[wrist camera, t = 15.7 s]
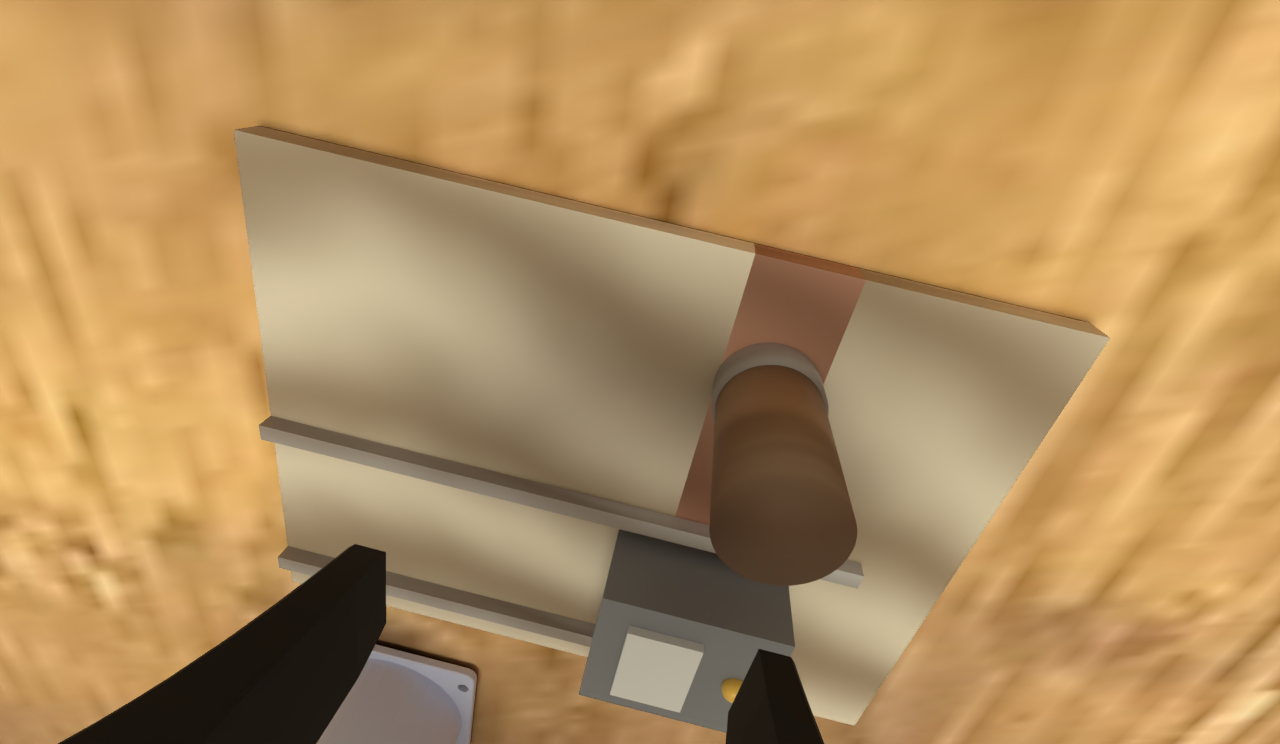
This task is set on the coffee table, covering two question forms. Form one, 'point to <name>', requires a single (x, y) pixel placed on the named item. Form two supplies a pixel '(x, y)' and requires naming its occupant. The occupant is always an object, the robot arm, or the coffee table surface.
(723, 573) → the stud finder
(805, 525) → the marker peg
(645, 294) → the cream ridged tray
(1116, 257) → the coffee table surface
